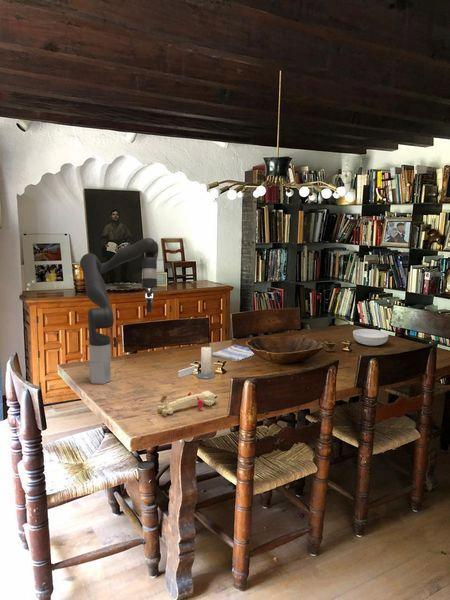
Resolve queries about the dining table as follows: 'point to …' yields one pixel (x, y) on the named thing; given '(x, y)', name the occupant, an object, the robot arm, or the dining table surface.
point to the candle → (206, 361)
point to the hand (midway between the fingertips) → (149, 311)
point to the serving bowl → (370, 336)
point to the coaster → (205, 376)
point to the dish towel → (234, 353)
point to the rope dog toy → (186, 402)
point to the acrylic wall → (186, 371)
